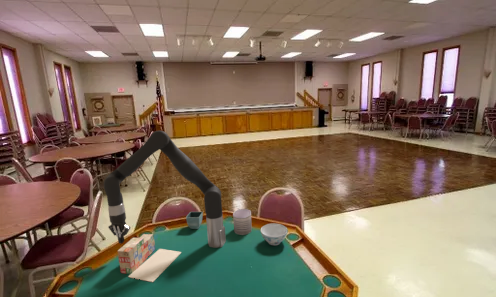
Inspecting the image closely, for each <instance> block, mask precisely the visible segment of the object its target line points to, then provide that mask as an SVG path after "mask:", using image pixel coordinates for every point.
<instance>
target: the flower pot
mask: <svg viewBox="0 0 496 297" xmlns="http://www.w3.org/2000/svg"><path fill="white" fill-rule="evenodd" d="M203 215H204V214H203V211H190V212H189V213H188V214H187V215H186V217H185V219H186V223H187V226H188V227H189V228H190V229H192V230H196V229H197V230H198V229H199V228H200V226H201V225H202V223H203V218H204V217H203Z"/></svg>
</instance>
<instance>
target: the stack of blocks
mask: <svg viewBox="0 0 496 297" xmlns="http://www.w3.org/2000/svg"><path fill="white" fill-rule="evenodd" d="M154 236H155V235H154V234H153V233H151V234H150V233H149V234H148V233H146V234H145V233H143V234H142V235H141V236H140V237H132V238H130V240H128V241H127V242H126V243H125V244H124V245H123V246H121V247H120V248H119V249H118V250H117V255H118V256H117V257H118V262H119V271H120V273H121V274H129V275H130V274H132V273H133V272H134V271H135V270H136V269H137V268H138V267H139V266H141V265H142V264H143V263H144V262H145V261H146V260H147V258H148V259H149V257H151V256H152V255H151V254H153V253H154V252H155V250H156V242H155V238H154ZM148 256H149V257H148Z"/></svg>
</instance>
